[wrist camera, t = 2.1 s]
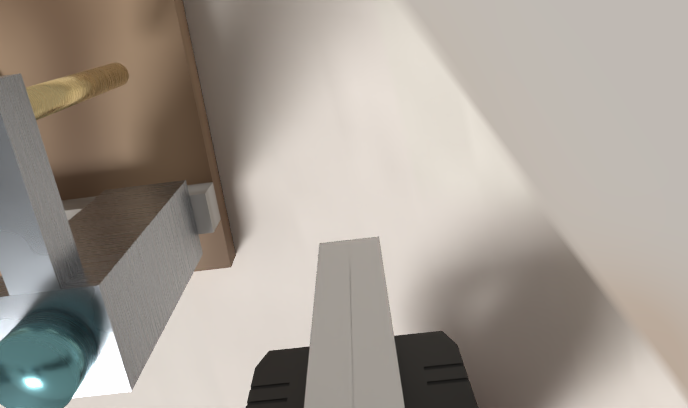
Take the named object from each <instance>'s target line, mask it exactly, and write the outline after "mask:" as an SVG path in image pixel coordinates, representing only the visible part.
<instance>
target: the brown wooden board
mask: <svg viewBox="0 0 688 408" xmlns="http://www.w3.org/2000/svg"><path fill="white" fill-rule="evenodd" d="M110 63H120V64H122V65H123V66H125V67H126V69H127V71H128V73H129V79H128V81H127V83H126V84H125V85H123V86H120V87H118V88H116V89H113V90H111V91H108V92H106V93H103V94H101V95H98V96H96V97H93V98H91V99H88V100H86V101H83V102H81V103H78V104H76V105H73V106H71V107H68V108H66V109H63V110H61V111H59V112H56V113H54V114H51V115H49V116H46V117H44V118H41V119H39V120H36V122H37V125H38V128H39V131H40V134H41V138H42V141H43V144H44V147H45V150H46V153H47V156H48V160H49V163H50V166H51V169H52V172H53V175H54V178H55V182H56V185H57V188H58V191H59V194H60V197H61V201H62V204H63V207H64V210H65V213H66V216H67V219H68V220H70V219H71V218H72V217H73V216H74V215H76V214H77V213H78V212H79V211H80V210H82V209H83V208H84V207H85V206H86V205H88V204H89V203H90V202H91V201H93V200H94V199H95V198H96V197H97V196H99V195H100V194H101V193H102V192H103V191H105V190H108V189H116V188H124V187H132V186H141V185H149V184H157V183H165V182H173V181H182V180H186V183H187V187H188V191H189V196H190V200H191V204H192V209H193V213H194V217H195V222H196V226H197V230H198V235H199V239H200V243H201V247H202V252H203V255H202V257H201V259H200V260H199V262H198V264H197V266H196V268H195V270H194V271H202V270H211V269H219V268H228V267H231V266H232V263H233V261H234V258H235V256H236V254H235V249H234V244H233V239H232V234H231V230H230V225H229V220H228V215H227V211H226V206H225V201H224V196H223V191H222V187H221V182H220V177H219V172H218V168H217V163H216V158H215V153H214V148H213V144H212V139H211V134H210V129H209V125H208V120H207V115H206V110H205V105H204V101H203V96H202V91H201V86H200V82H199V77H198V72H197V67H196V63H195V58H194V53H193V48H192V43H191V39H190V34H189V29H188V24H187V20H186V15H185V10H184V5H183V0H0V76H4V75H12V74H20V73H21V75H22V78H23V81H24V84H25V87H29V86H33V85H36V84H40V83H43V82H47V81H50V80H54V79H57V78H61V77H64V76H68V75H72V74H75V73H79V72H82V71H86V70H89V69H93V68H96V67H100V66H103V65H107V64H110ZM1 276H2V274H1V272H0V277H1Z"/></svg>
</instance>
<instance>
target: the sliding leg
mask: <svg viewBox="0 0 688 408" xmlns="http://www.w3.org/2000/svg"><path fill="white" fill-rule="evenodd" d="M128 79H129V73H128V71H127V69H126V67H125V66H123V65H122V64H120V63H110V64H107V65H103V66H100V67H96V68H93V69H89V70H86V71H82V72H79V73H75V74H72V75H68V76H64V77H61V78H57V79H54V80H50V81H47V82H43V83H40V84H36V85H33V86H29V87H25V84H24V81H23V78H22V75H21V73H20V74H12V75H4V76H0V272H1V274H2V276H1V277H0V404H1V405H3V406H4V407H6V408H64V407H65V406H66V405H67V404H68V403H69V402H70V400H71V399H72V398H77V397H86V396H95V395H104V394H113V393H122V392H131V391H132V389H133V387H134V385H135V384H136V382H137V380H138V378H139V376H140V374H141V372H142V370H143V368H144V366H145V364H146V362H147V360H148V359H149V357H150V355H151V353H152V351H153V349H154V347H155V345H156V343H157V341H158V339H159V337H160V335H161V334H162V332H163V330H164V328H165V326H166V324H167V322H168V320H169V318H170V316H171V314H172V312H173V310H174V309H175V307H176V305H177V303H178V301H179V299H180V297H181V295H182V293H183V291H184V289H185V287H186V285H187V284H188V282H189V280H190V278H191V276H192V274H193V272H194V270H195V268H196V266H197V264H198V262H199V260H200V259H201V257H202V255H203V252H202V247H201V243H200V239H199V235H198V230H197V226H196V222H195V217H194V213H193V209H192V204H191V200H190V196H189V191H188V187H187V183H186V180H182V181H173V182H165V183H157V184H149V185H141V186H132V187H124V188H116V189H108V190H105V191H103V192H102V193H101V194H100V195H99V196H97V197H96V198H95V199H94V200H93V201H91V202H90V203H89V204H88V205H86V206H85V207H84V208H83V209H82V210H80V211H79V212H78V213H77V214H76V215H74V216H73V217H72V218H71V219H70V220H68V219H67V216H66V213H65V210H64V207H63V204H62V201H61V197H60V194H59V191H58V188H57V185H56V182H55V178H54V175H53V172H52V169H51V166H50V163H49V160H48V156H47V153H46V150H45V147H44V144H43V141H42V138H41V134H40V131H39V128H38V125H37V122H36V120H39V119H41V118H44V117H46V116H49V115H51V114H54V113H56V112H59V111H61V110H63V109H66V108H68V107H71V106H73V105H76V104H78V103H81V102H83V101H86V100H88V99H91V98H93V97H96V96H98V95H101V94H103V93H106V92H108V91H111V90H113V89H116V88H118V87H120V86H123V85H125V84H126V83H127V81H128Z"/></svg>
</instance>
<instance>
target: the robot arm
mask: <svg viewBox="0 0 688 408" xmlns="http://www.w3.org/2000/svg"><path fill="white" fill-rule="evenodd" d="M246 408H478V406H477V403H476V400H475V397H474V394H473V391H472V388H471V385H470V382H469V381H468V376H467V373H466V370H465V367H464V365H463V361H462V358H461V355H460V352H459V349H458V346H457V344H456V343H455V342H453V341H452V340H451V339H450V338H449V337H448V336H447V335H446V334H445V333H444V332H443V331H437V332H427V333H418V334H408V335H399V336H394V333H393V327H392V320H391V313H390V307H389V300H388V294H387V287H386V280H385V274H384V267H383V261H382V254H381V247H380V241H379V237H372V238H363V239H354V240H345V241H336V242H327V243H319V254H318V264H317V275H316V286H315V296H314V307H313V317H312V328H311V338H310V347H302V348H292V349H283V350H273V351H269V352H268V353H267V354H266V355H265V357H264V358H263V359H262V360H261V361H260V363H259V364H258V365H257V366H256V368H255V371H254V375H253V380H252V384H251V390H250V392H249V397H248V401H247V406H246Z"/></svg>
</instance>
